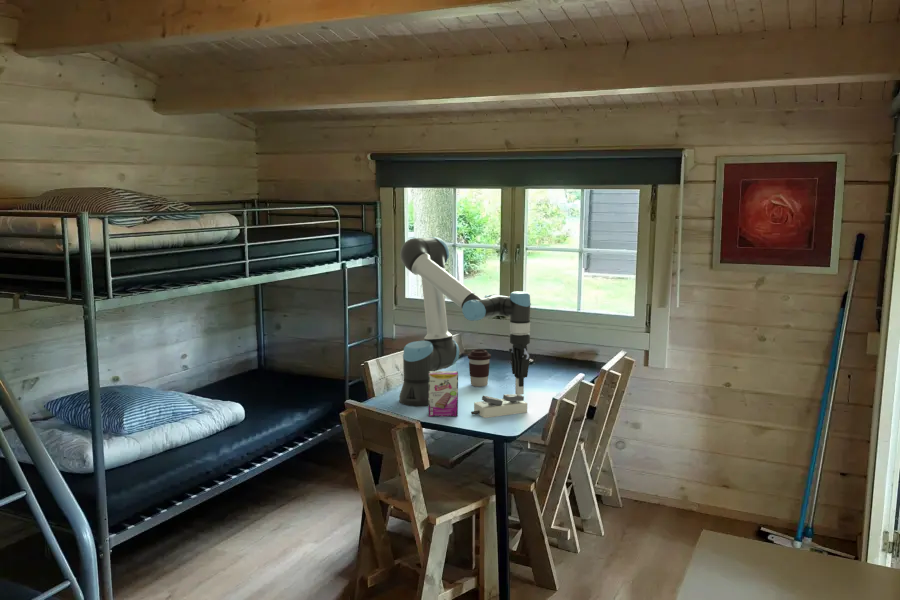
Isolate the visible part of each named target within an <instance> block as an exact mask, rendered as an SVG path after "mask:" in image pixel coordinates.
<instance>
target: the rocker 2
mask: <svg viewBox="0 0 900 600" xmlns="http://www.w3.org/2000/svg"><path fill="white" fill-rule="evenodd" d="M502 397H503V398H502V399H505V400H506V401H524V399H525V396H523V394H522V395H516V394H515V393H512V394H510V393H508V394H505V393H504V394H503V395H502ZM524 402H525V401H524Z"/></svg>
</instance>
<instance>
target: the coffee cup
mask: <svg viewBox="0 0 900 600" xmlns="http://www.w3.org/2000/svg"><path fill="white" fill-rule="evenodd" d="M491 358H492V354H491V353H489V352H488V350H486V349H483V348H482V349H479V348H478V349H472V350H471V351H470V353H468V354H467V359H468V361H469V362H468V368H469V369H468V370H469V378H470V379H469V380H470V385H471V386H473V387H480V388H481V387H486V386H488V384H489V381H488V380H489V375H490V359H491Z"/></svg>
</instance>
